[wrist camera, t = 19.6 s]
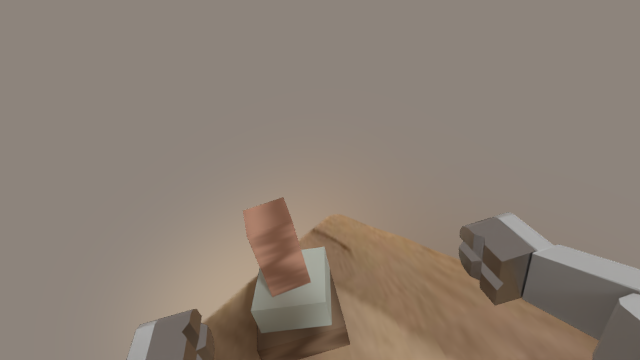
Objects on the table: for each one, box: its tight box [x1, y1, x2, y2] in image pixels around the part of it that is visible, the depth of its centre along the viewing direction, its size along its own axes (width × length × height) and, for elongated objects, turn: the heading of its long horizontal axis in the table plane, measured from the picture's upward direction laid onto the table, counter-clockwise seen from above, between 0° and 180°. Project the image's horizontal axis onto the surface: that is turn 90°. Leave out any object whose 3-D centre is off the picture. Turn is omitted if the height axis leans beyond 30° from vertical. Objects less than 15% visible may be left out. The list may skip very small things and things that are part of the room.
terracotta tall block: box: [243, 198, 311, 297], centre depth 39 cm, size 5×5×10 cm
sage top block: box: [251, 247, 332, 333], centre depth 42 cm, size 9×9×4 cm
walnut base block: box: [257, 271, 350, 360], centre depth 44 cm, size 11×11×4 cm
